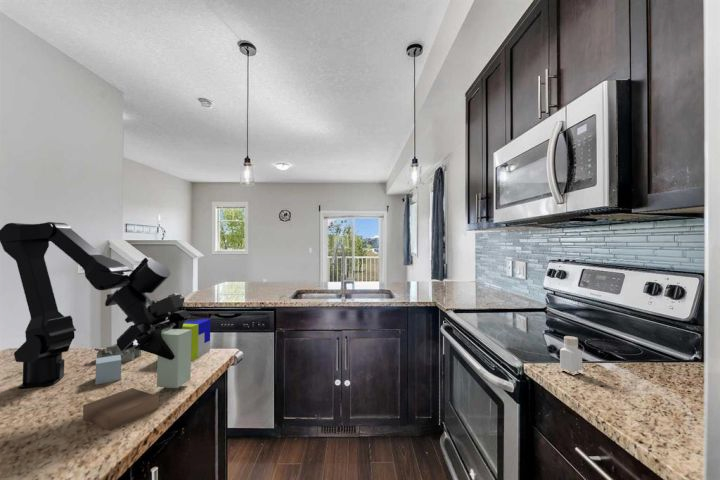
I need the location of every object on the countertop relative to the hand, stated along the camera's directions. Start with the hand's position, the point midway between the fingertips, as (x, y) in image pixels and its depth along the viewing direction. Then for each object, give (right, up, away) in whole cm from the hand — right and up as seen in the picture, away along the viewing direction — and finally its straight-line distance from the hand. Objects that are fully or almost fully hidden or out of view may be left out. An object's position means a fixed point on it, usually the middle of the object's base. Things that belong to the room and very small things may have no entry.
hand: (180, 354), depth 79 cm
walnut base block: (-5, -8, -12) cm, 15 cm away
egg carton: (-29, -8, +21) cm, 37 cm away
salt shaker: (+100, -9, +12) cm, 101 cm away
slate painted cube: (-21, -8, +5) cm, 23 cm away
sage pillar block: (-1, -7, 0) cm, 7 cm away
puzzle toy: (-11, -8, +24) cm, 28 cm away
